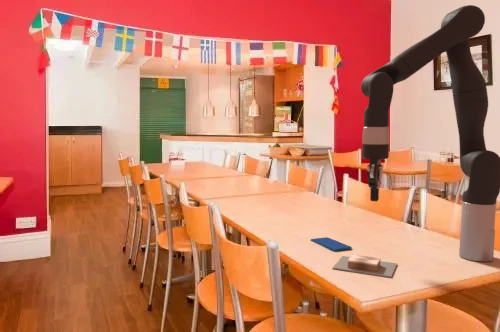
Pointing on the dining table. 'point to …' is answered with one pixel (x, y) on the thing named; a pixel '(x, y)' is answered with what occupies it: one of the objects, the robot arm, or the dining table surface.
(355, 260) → the wooden toy block
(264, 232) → the dining table surface
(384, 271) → the mat
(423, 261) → the dining table surface
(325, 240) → the smartphone
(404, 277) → the dining table surface
